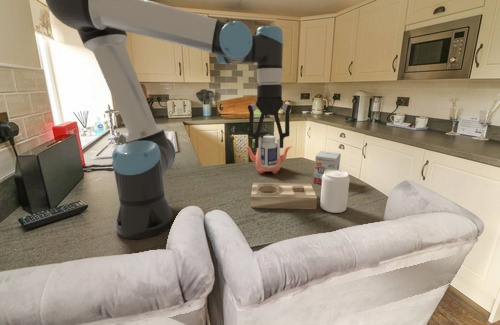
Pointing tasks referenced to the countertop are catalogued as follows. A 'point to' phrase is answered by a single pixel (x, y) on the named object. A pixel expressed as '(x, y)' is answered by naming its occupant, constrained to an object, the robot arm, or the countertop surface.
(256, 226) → the countertop surface
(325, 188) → the beverage can
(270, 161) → the pill bottle
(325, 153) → the ink box
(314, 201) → the socket block
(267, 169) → the teapot
